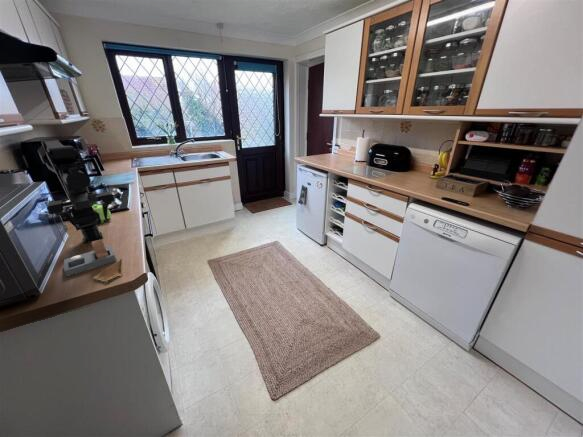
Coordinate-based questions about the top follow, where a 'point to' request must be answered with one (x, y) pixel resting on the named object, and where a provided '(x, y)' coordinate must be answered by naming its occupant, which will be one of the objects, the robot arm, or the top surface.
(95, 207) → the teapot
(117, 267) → the shard
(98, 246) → the brown wooden block
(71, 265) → the board
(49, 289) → the top surface
